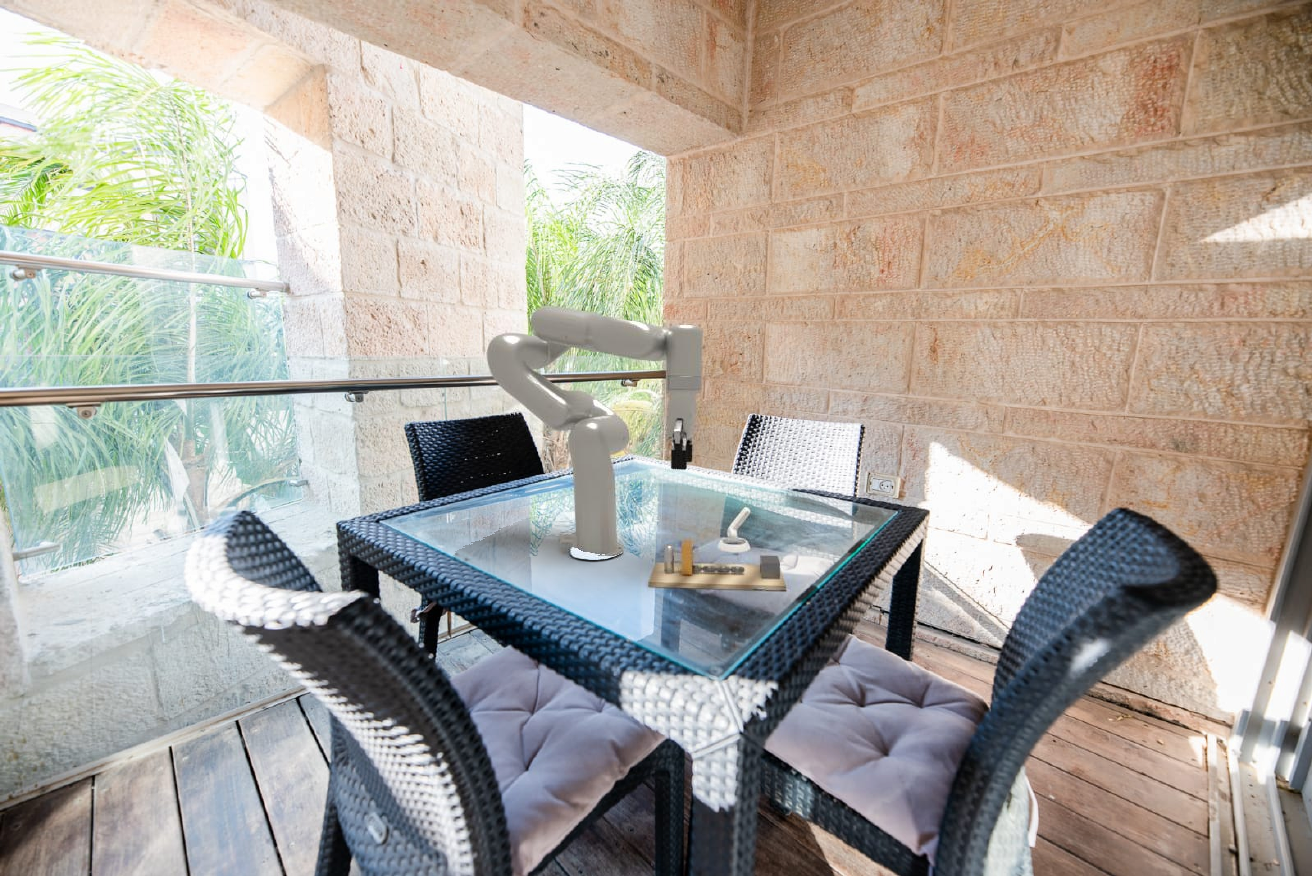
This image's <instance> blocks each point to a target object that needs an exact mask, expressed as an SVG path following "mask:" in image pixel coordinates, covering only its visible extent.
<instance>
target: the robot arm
mask: <svg viewBox="0 0 1312 876" xmlns="http://www.w3.org/2000/svg"><path fill="white" fill-rule="evenodd" d="M530 327H531V330H532V332H533V334H526V333H517V332H504V333H501V334H498V335H496V336H494V337H493V338H492V339H491V340H490V342H489V344H488V347H487V349H486V361H487V365H488V369H489V372H490V373H491V376H492V377H493V379H494V381H495V383H496V384H498V386H499V387H501V389H503V390H504V391H505V392H506V393H507V394H508V395H510V396H511V397H513V398H514V399H515V400H516V401H518V402H519V404H521V405H522V406H524V407H525V408H526V409H527V410H528V411H529V412H530V413H532V414H533V415H534V416H535V417H536V418H538V419H539V420H540V421H542V423H544V424H545V425H546V426H547V427H548V428H550V429H552V430H553V431H555V432H556V431H558V432H564V431H566V432H567V431H569V434H568V438H567V445H568V450H569V451H568V452H569V456H570V459H571V465H572V476H573V477H572V478H573V492H574V493H573V494H574V499H573V500H574V523H575V525H574V526H575V527H574V528H575V532H574V533H572V534H568V533H566V534H565V533H560V534H559V535H558V542H559V541H561V542H560V545H570V547H574V548H578V549H579V550H581V551H583V552H590V553H595V554H600V555H598V556H615V555H618V554H620V553H621V552H623V553H624V551H623V550H625V549H624V548H625V546H624V544H623V543H621V542H619V541H617V539H618V538H617V536H618V533H617V503H616V502H617V501H616V499H617V497H616V477H615V469H614V466H613V462H612V459H611V456H612V455H615V454H618V453H620V452H622V451H624V449H626V447H627V446H628V445H629V442H630V439H631V437H630V435H631V434H630V430H629V427H628V425H627V424H626V422H625V420H623V419H622V417H620V416H619V415H617V414H616V413H615V412H614V411H612V410H611V409H610V408H609V407H608V406H606V405H605V404H604V403H603V402H601V401H600V400H599V399H597V398H596V397H595V396H593V395H592V394H590V393H588V392H586V391H583V390H567V389H566V390H565V389H562V388H560V387H559V386H557V385H555V383H553V382H552V381H550V380H549V379H548V378H547V377H546V376H544V375H543V374H541V373H539V372H538V371H536V370H541V369H543V368H546V367H548V366H549V365H551V364H552V363H553V362H555V361H556V360H558V359H559V358H560V357H562V356H563V355H564V354H566V353H567V352H568V351H569V350H571V349H572V348H575V349H579V350H583V351H588V352H593V353H594V352H598V353H603V354H608V355H611V356H612V355H613V356H618V357H621V358H622V357H623V358H627V359H632V360H638V361H649V362H661V361H666V362H665V392H667V393H669V397H668V406H667V425H666V438H667V439H668V440H672V443H671V450H670V451H671V453H670V454H671V455H670V457H671V458H670V469H671V470H679V471H680V470H683V471H685V470H687V468H688V463H692V461H693V438H692V437H693V436H694V434H695V427H696V409H697V408H696V404H697V399H696V398H697V397H696V396H697V394H696V393H702V379H703V378H702V375H703V337H704V336H703V334H704V333H703V329H702V328H701V327H700V326H698V325H695V324H673V325H671V326H669V327H663V326H659V325H658V326H657V325H654V324H649V323H646V322H641V321H635V320H629V319H623V318H617V317H612V316H607V315H602V314H601V313H598V312H592V311H586V310H581V309H574V308H569V307H563V306H558V305H551V304H550V305H544V306H540V307H539V308H537V309H536V310H535V311H534V312H533V313H532V315H531V318H530ZM602 554H605V555H602Z"/></svg>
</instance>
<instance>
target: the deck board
mask: <svg viewBox="0 0 1312 876" xmlns="http://www.w3.org/2000/svg"><path fill="white" fill-rule="evenodd" d="M693 565H697V566H701V567H702V568H703V566H715V567H716V568H717V567H718V566H729V567H730V569H731V567H733V566H738V567H744V569H745V571H744V572H743V573H733V572H731V570H730V572H718V571H717V570H716V571H715V572H704V571H703V570H702V571H700V572H692V575H689V574H682V562H674V573H672V574H666V573H664V562H658V561H657V562H655V563H654V565H653V568H652V571H651V574H650V577H649V579H648V580H649V581H648V587H649V588H668V589H669V588H671V589H672V588H673V589H675V588H676V589H677V588H678V589H703V590H704V589H706V590H739V591H741V590H742V591H754V590H753V589H758V588H764V589H766V590H778V591H777V592H780V591H779V590H786V591H787V584H786V582H785V578H784V575H783V572H782V570H781V568H780V579H762V578H761V573H760V564H739V563H738V564H736V563H735V564H734V563H732V564H731V563H727V564H726V563H700V562H699V563H698V562H697V563H695V562H693ZM766 590H765V591H766Z"/></svg>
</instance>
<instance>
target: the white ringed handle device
mask: <svg viewBox="0 0 1312 876" xmlns="http://www.w3.org/2000/svg"><path fill="white" fill-rule="evenodd" d="M750 513H751V510H750V508H748V507H747V506H745V507H743V509H742V510H741V511H740V512H739V514H738V515H737V516H736V517H735V519H734V520H733V521H732V522H731V524H730V525H729V526H728V528H727V532H726V533H727V537H723V538H722V539H720V540H719V543H718V544H717V549H718V550H719V551H722V552H726V553H733V554H735V553H738V554H740V553H745V552H749V551H750V549H751V546H750V543H749V542H748V540H747V539H746V538H742V537H739V535H738V529H739V528H740V527H741V526H742V524H743V523H744V521H746V519H747V518H748V516H749V515H750Z"/></svg>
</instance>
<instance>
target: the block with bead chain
mask: <svg viewBox="0 0 1312 876" xmlns="http://www.w3.org/2000/svg"><path fill="white" fill-rule="evenodd" d="M693 543H694V541H693V539H682V542H681V553H682V561H681V563H682V574H689V575H692V572H700V571H702V570H703V571H704V572H715V571H716V570H717V571H718V572H730V570H731V572H733V573H743V572H744V571H745V569H744V567H738V566H733V567H731V569H730V567H729V566H718V567H717V568H716V567H715V566H703V568H702V567H701V566H697V565H693V563H694V561H692V553H694V552H693V551H694V550H693V547H694V545H693Z"/></svg>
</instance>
